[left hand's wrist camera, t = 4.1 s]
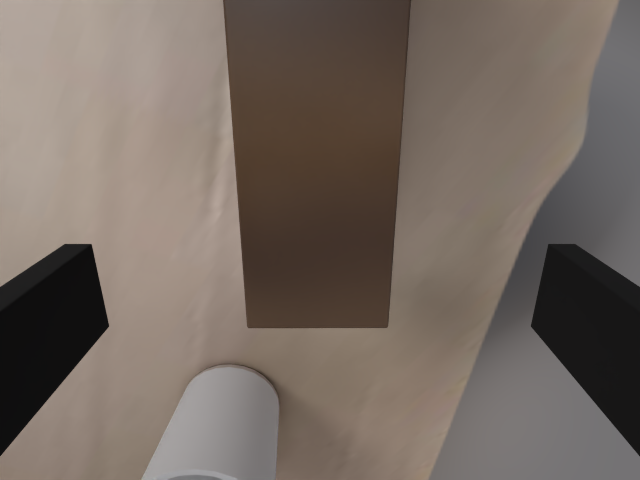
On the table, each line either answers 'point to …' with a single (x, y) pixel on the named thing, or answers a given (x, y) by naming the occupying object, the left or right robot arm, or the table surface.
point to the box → (317, 156)
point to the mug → (221, 429)
